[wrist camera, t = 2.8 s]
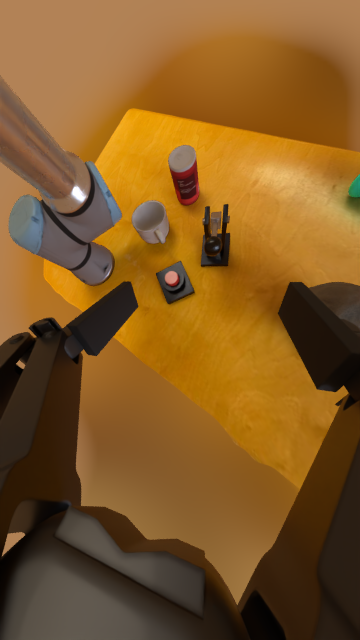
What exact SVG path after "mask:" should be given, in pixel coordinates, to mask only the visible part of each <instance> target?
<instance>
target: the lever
mask: <svg viewBox="0 0 360 640" xmlns="http://www.w3.org/2000/svg"><path fill="white" fill-rule="evenodd" d="M220 225H221V212H213V213H212V214H211V229H212V234H211V237H209V238H207V240H206V241H205V243H204V251H205V253H206V254H207V255H209V256H216V255H217V254H219V253H220V251H221V249H222V241H221V239H220V238H219V237H217V230H218V229H220Z"/></svg>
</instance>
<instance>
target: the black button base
mask: <svg viewBox="0 0 360 640" xmlns="http://www.w3.org/2000/svg"><path fill="white" fill-rule="evenodd" d="M170 271H174V272H176V273H177V275H178V276H179V282H178V284H177V285H175V286H169V285H168V284H167V283H166V281H165V275H166V274H167V273H168V272H170ZM156 275H157V278H158V280H159V283H160V285H161V288H162V291H163V293H164V296H165V298H166V301H167V303H168V304H171V303H173V302H176V301H178V300H180V299H182V298H184V297H186V296H188V295H191V294H193V293H195V292H194V289H193V287H192V285H191V283H190V280H189V278H188V276H187V274H186V272H185V269H184V267H183V265H182V263H181V261H179V262H178V263H176V264H174V265H172V266H170V267H168V268H166V269H164V270H162V271H160V272H158V273H156Z"/></svg>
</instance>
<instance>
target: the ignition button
mask: <svg viewBox="0 0 360 640" xmlns="http://www.w3.org/2000/svg"><path fill="white" fill-rule="evenodd" d="M165 281H166V283H167V284H168V285H169V286H175V285H177V284H178V282H179V276H178V275H177V273H176V272H174V271H170V272H168V273H167V274H166V275H165Z"/></svg>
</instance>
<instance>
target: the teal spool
mask: <svg viewBox="0 0 360 640" xmlns="http://www.w3.org/2000/svg"><path fill="white" fill-rule="evenodd" d="M348 193H349V195H350V196H351V197H360V174H359V175H358V176H357V177H356V179H355V180H354V181H353V182H352V184H351V186H350V187H349V191H348Z"/></svg>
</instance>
